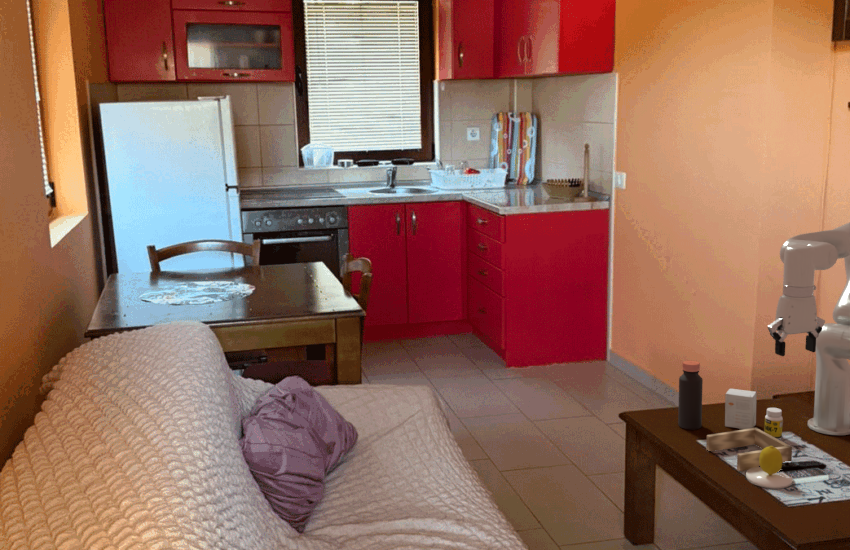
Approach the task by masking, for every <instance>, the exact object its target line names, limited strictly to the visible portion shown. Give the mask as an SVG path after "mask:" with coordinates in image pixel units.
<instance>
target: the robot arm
mask: <svg viewBox="0 0 850 550" xmlns="http://www.w3.org/2000/svg"><path fill="white" fill-rule="evenodd" d="M779 257H780V261H781V263H783V275H782V276H783V277H782V278H783V280H782V295H779V299H778V300H777V306H776V311H775V319H774V321H773V322H771V323H770V324H768V325H767V330H768V332H769V335H770V336H771V337H772V339H773V340H774V354H775V355H778V356H780V357H785V356H786V341H784V340H785V339H786V338H787V337H788V336H789V335H797V334H805V333H806V334H807V335H806V336H805V350H806V351H809V352H811V353H815V367H816V368H815V384H814V385H815V387H814V405H813V406H814V407H813V417H812V418H809V419H808V420H807V427H808V428H809V429H810V430H812V431H814V432H817V433H820V434H824V435H828V436H829V435H830V436H846V435H847V436H848V435H850V363H849V361H848V360H850V222H847V223H845V224H842V225H841V226H838V227H835V228H833V229H826V230H821V231H820V230H819V231H814V232H808V233H807V232H806V233H802V234H797V235H794V236H792V237H790V238H788V239H787V240H785V241H784V242H783V244H781V247H780V249H779ZM839 259H843V261H844V268H845V275H846V281H845V284H844V285H845V286H844V288H843V289H842V292H841V293H840V296H839V298H838V299H837V302H836V304H835V305H834V308H833V311H832V319H833V321H834V322H835V323H834V322H829V323H828V322H827V323H826V320H825V319H823V318H821V317H819V316H818V315H817V314H818V313H817V312H818V311H817V310H818V309H817V301H816V300H817V299H816V296H815V295H814V291H817V286H816V285H815V271H825V270H829V269H831V268H833V267H834V266H835V265H836V263H837V261H838V260H839Z"/></svg>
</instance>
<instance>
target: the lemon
mask: <svg viewBox="0 0 850 550" xmlns="http://www.w3.org/2000/svg"><path fill="white" fill-rule="evenodd" d="M761 450H762V451H761V453H760V457H759V464H760V467H761V468H762V470H763V471H764V472H766V473H768V474H769V475H772V474H775V473H777V472H779V471H780V470H782V467H783V464H782V463H783V460H782V455H781V453H780V451H779V450H778V449H777V448H775V447H773V446H769V447H766V448H764V449H761Z"/></svg>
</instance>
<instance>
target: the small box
mask: <svg viewBox="0 0 850 550" xmlns="http://www.w3.org/2000/svg"><path fill="white" fill-rule="evenodd" d="M724 401H725V402H724V426H725V427H727V428H734V429H739V430H743V429H750V428H755V426H756V425H757V391H753V390H747V389H746V390H745V389H744V390H743V389H736V388H729V389H728V390H727V391H726V393H725V400H724Z"/></svg>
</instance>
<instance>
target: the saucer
mask: <svg viewBox="0 0 850 550" xmlns="http://www.w3.org/2000/svg"><path fill="white" fill-rule="evenodd" d="M745 478H746V480H747V481H748V482H749V483H750V484H752V485H754V486H758V487H760V488H765V489H772V490H773V489H774V490H778V489H780V490H781V489H787V488H790V487H791V486H792V485H793V481H794V480H793V479H794V478H793V476H792V475H791V477H790V478H786V477H782V476H780V475H778V474H777V473H775V474H772V475H769V474H768V473H766V472H764V471H763V470H762V468H761V467H754V468H751V469H749V470H746V473H745ZM792 480H793V481H792Z"/></svg>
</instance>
